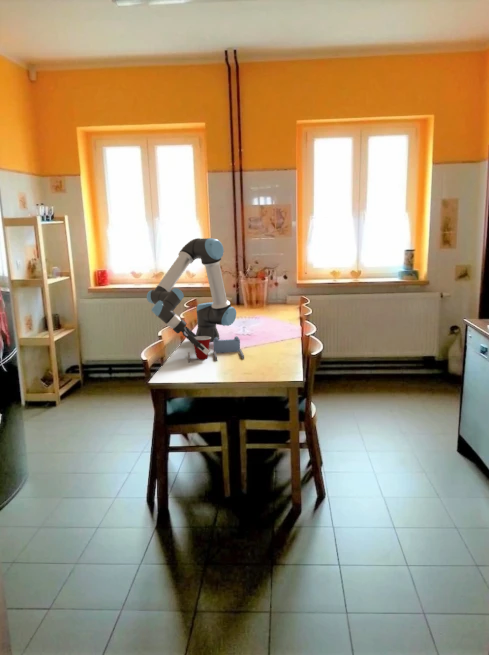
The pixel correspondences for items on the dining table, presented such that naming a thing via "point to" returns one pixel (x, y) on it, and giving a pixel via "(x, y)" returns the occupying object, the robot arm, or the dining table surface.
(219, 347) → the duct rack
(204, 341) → the plastic cup
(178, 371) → the dining table surface
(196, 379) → the dining table surface
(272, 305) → the dining table surface
